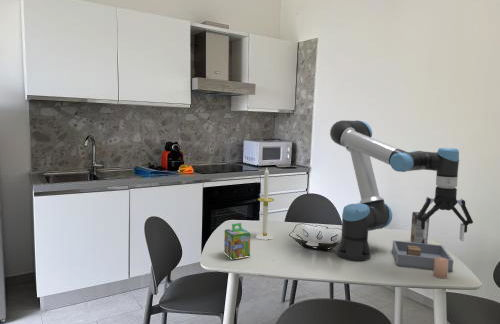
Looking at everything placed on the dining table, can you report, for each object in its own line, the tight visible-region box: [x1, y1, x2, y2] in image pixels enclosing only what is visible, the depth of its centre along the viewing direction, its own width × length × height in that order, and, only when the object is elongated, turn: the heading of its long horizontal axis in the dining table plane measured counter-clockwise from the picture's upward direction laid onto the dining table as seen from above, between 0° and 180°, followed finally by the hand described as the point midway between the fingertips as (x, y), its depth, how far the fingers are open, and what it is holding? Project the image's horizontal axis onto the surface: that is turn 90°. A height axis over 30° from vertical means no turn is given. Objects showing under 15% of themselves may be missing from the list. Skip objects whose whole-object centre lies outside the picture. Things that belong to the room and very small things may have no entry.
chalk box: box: [223, 222, 251, 259], centre depth 167 cm, size 9×9×15 cm
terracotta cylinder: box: [432, 257, 449, 279], centre depth 150 cm, size 5×5×7 cm
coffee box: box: [409, 211, 430, 244], centre depth 187 cm, size 9×6×16 cm
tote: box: [391, 240, 454, 273], centre depth 167 cm, size 22×20×5 cm
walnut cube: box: [407, 245, 421, 256], centre depth 167 cm, size 5×5×5 cm
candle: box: [257, 167, 275, 236], centre depth 193 cm, size 10×10×38 cm
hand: (442, 238), depth 150 cm, fingers open, 13 cm apart
